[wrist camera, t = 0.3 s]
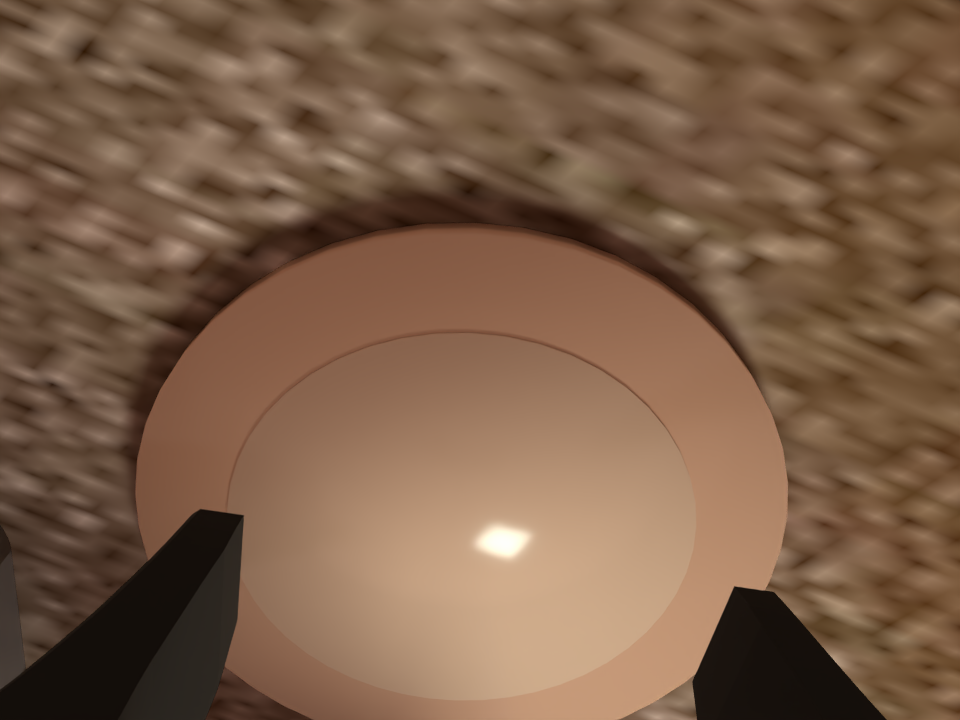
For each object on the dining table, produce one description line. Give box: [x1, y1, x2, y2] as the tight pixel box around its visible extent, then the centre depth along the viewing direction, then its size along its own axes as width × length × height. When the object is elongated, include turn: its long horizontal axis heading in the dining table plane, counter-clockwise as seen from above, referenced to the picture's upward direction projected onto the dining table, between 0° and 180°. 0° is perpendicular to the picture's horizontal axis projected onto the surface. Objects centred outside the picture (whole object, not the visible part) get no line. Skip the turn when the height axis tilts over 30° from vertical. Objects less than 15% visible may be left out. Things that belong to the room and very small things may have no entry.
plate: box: [135, 223, 788, 720], centre depth 24 cm, size 18×18×1 cm
